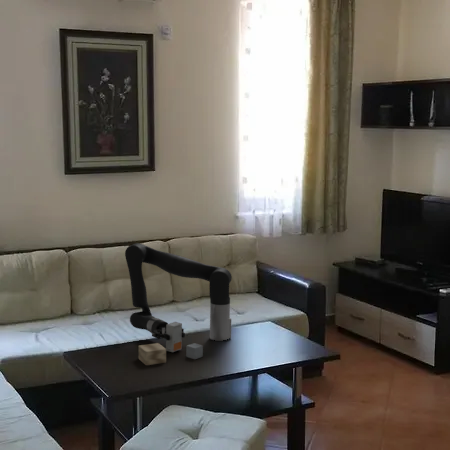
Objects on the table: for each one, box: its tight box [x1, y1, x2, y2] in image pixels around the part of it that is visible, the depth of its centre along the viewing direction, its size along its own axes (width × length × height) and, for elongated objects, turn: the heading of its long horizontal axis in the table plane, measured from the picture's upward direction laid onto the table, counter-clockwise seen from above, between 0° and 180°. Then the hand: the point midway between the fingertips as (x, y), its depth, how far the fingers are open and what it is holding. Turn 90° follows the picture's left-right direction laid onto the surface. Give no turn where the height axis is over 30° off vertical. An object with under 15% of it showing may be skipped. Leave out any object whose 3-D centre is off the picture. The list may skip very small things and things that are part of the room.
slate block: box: [185, 342, 204, 360], centre depth 298 cm, size 5×5×5 cm
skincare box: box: [165, 321, 183, 353], centre depth 304 cm, size 6×4×12 cm
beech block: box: [138, 342, 167, 366], centre depth 292 cm, size 9×9×6 cm
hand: (176, 336), depth 302 cm, fingers closed on skincare box, 7 cm apart
